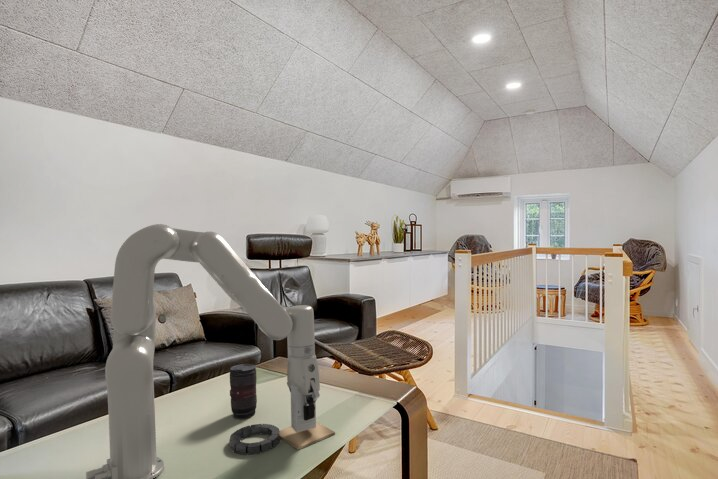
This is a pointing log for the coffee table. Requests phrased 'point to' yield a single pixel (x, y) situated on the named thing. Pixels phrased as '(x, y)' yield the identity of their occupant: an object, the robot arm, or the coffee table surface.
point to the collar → (257, 446)
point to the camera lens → (243, 390)
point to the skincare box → (300, 411)
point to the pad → (305, 436)
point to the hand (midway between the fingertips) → (303, 415)
